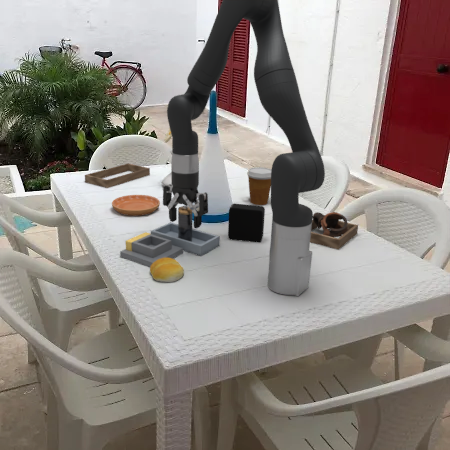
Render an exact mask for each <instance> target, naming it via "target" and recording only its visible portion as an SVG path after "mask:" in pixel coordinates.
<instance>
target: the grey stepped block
mask: <svg viewBox="0 0 450 450" xmlns="http://www.w3.org/2000/svg"><path fill="white" fill-rule="evenodd" d="M183 254H184V251H183V248H180V247H177V246H174V245H172V241H171V240H168V239H165V238H162V237H158V236H155V235H152V234H151V232H146V231H145V232H142V233H140V234H138V235H136V236H133V237H131V238H130V239H127V240H125V249H122V250H121V251H120V252H119V255H120V258H122V259H123V258H124V259H127V260H129V261H132V262H134V263H137V264H140V265H143V266H146V267H149V268H150V266H151V265H152V263H154V262H155V261H156V260H158V259H160V258H172V259H175V258H177V257H179V256H181V255H183Z"/></svg>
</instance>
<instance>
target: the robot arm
mask: <svg viewBox="0 0 450 450" xmlns="http://www.w3.org/2000/svg"><path fill="white" fill-rule="evenodd" d="M279 5H280V4H279V2H278V0H222V2H221V4H220V6H219V9H218V11H217V13H216V17H215V19H214V23H213V25H212V28H211V30H210V32H209V35H208V38H207V40H206V42H205V44H204V47H203V49H202V51H201V53H200V54H199V56H198V58H197V60H196V61H195V63H194V65H193V67H192V68H191V71H190V72H189V74H188V76H187V78H186V79H187V81H186V82H187V85H188V86H187V89H186V91H185V92H184V93H183V94H178V95H174V96H173V97H171V99H170V100H169V102H168V104H167V107H166V108H167V110H166V114H167V115H166V116H167V122H168V126H169V128H170V131H171V134H172V137H171V139H172V143H171V144H172V145H171V146H172V147H171V148H172V150H171V151H172V154H171V163H170V164H171V172H170V173H171V179H172V185H171V184H169V185H166V186H164V185H163V189H162V190H163V191H162V205H163V206H164V207H167V208H168V219H169V221H170V222H171V223H174V222H175V221H177V220H178V215H177V214H178V209H177V206H178V205H183V206H189V208H190V209H191V210H192V214H193V229H199V228H200V227H201V226H202V220H203V219H202V218H203V217H202V216H204V215H206V214H208V213H209V198H208V197H209V196H208V195H209V194H208V192H199V190H198V188H199V184H200V183H199V181H200V160H199V159H200V158H199V157H200V156H199V135H198V132H196V131H195V130H193V125H192V121H194V120H197V119H198V118H199V117H201V115H202V114H203V112H204V111H205V109H206V107H207V104H208V102H209V100H210V97H211V95H212V94H211V93H212V91H213V89H214V88H215V86H216V84H217V83H218V82H219V80H220V78H221V76H222V75H223V73H224V71H225V69H226V65H227V63H228V58H229V49H230V43H231V40H232V37H233V34H234V32H235V30H236V29H237V27H238V26H239V24H240V23H241V21H242V20H246V21H249V23H250V25H251V27H252V30H253V35H254V37H255V41H256V50H257V51H256V56H255V60H254V61H255V62H254V67H253V78H254V83H255V88H256V91H257V94H258V99H259V101H260V104H261V106H262V108H263V110H265V112H266V113H267V115H269V116H270V118H271V119H272V121H274V123H275V124H276V125H278V127H279V128H280V129H281V130H282V132H283V134H284V135H285V136H286V138H287V141H288V142H289V146H290V149H291V152H285V153H281V154H278V155H277V156H276V157H275V158H274V160H273V162H272V165H271V169H272V170H271V188H270V208H271V212H272V216H271V217H272V218H271V232H270V233H271V234H270V247H269V261H268V276H267V287H268V288H269V289H270V290H271V291H272V292H274V293H276V294H279V295H280V294H281V295H286V296H296V297H299V296H300V295H301V294H302V293H304V292H305V291H306V290H307V289H308V288H309V286H310V281H311V280H310V278H311V268H312V258H313V251H311V250H310V247H311V242H310V237H311V232H312V231H311V228H312V220H313V215H314V213H313V210H312V208H311V207H309V206H307V205H304V204H301V203H299V200H300V199H299V195H300V194H301V193H307V192H312V191H315V190H316V191H317V190H319V189H320V188H321V187H322V186H323V184H324V182H325V177H326V176H325V175H326V173H325V172H326V170H325V164H324V160H323V158H322V155H321V151H320V150H319V147H318V144H317V142H316V140H315V137H314V133H313V131H312V129H311V126H310V123H309V120H308V117H307V114H306V110H305V108H304V103H303V101H302V97H301V93H300V88H299V84H298V81H297V76H296V73H295V69H294V66H293V64H292V60H291V57H290V52H289V50H288V45H287V42H286V38H285V34H284V31H283V30H284V29H283V26H282V24H283V23H282V17H281V11H280V6H279ZM172 194H173V196H172Z"/></svg>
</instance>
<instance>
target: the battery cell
mask: <svg viewBox="0 0 450 450" xmlns="http://www.w3.org/2000/svg"><path fill="white" fill-rule="evenodd" d="M177 214H178V215H177V224H178V238H180V239H184V240H187V241H190V242H192V229H193V211H192V210H191V209H190V208H189V206H186V205H182V206H179V207H178V209H177Z"/></svg>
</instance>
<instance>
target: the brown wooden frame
mask: <svg viewBox="0 0 450 450" xmlns="http://www.w3.org/2000/svg"><path fill="white" fill-rule="evenodd" d="M125 172H129V173H126V174H122V173H125ZM118 174H122V175H119V176H118ZM115 175H117V176H115ZM150 175H151V169H150V167H146V166H142V165H137V164H132V163H124V164H121V165H117V166H114V167H109V168H106V169H102V170H98V171H94V172H92V173H87V174H84V183H87V184H90V185H93V186H97V187H101V188H104V189H105V188H106V189H109V188H113V187H116V186H120V185H123V184H125V183H129V182H132V181H135V180H136V181H137V180H139V179H143V178H145V177H148V176H150ZM112 176H115V177H112ZM108 177H112V178H108ZM106 178H108V179H106Z"/></svg>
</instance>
